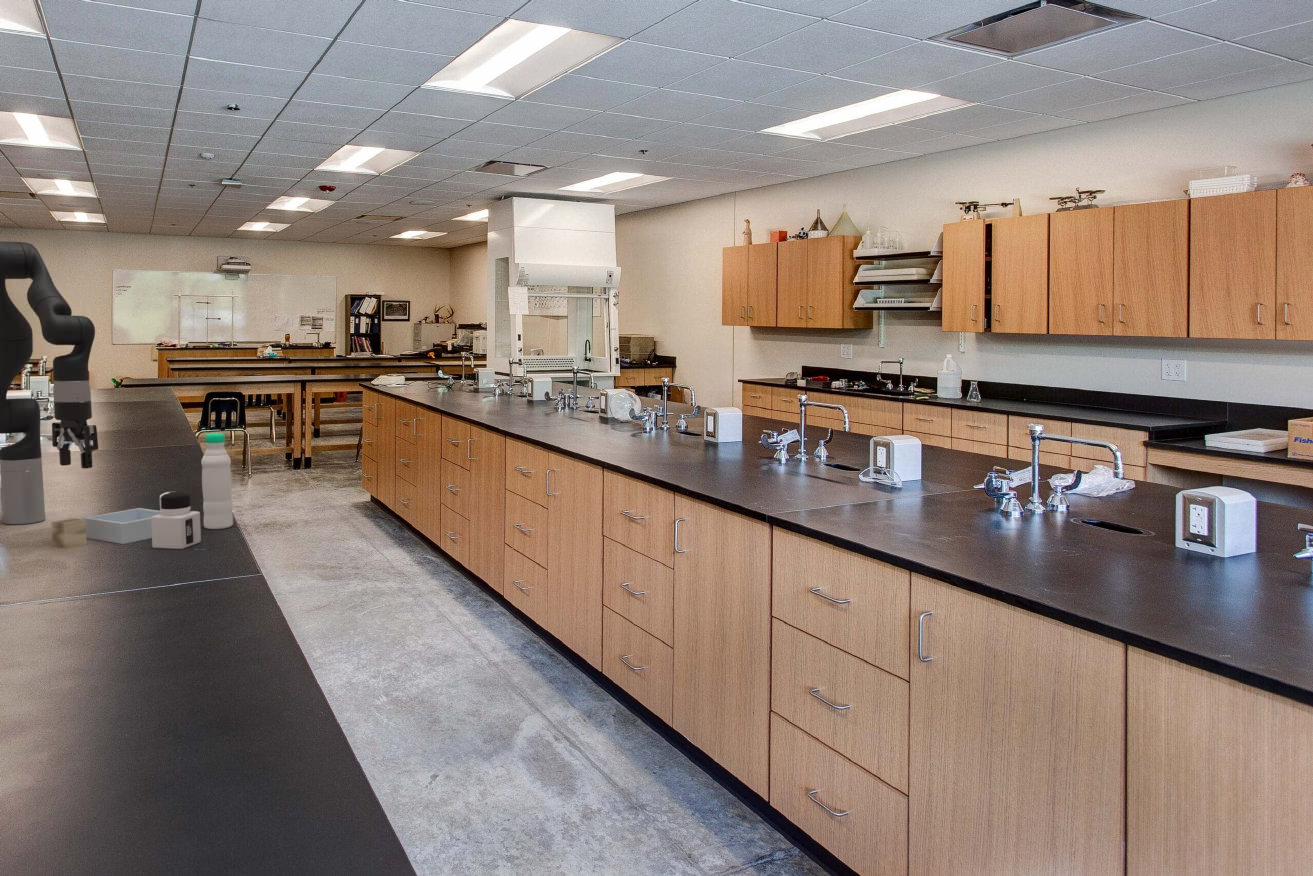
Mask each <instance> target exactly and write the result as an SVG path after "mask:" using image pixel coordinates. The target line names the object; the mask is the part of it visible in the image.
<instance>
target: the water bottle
mask: <svg viewBox="0 0 1313 876" xmlns="http://www.w3.org/2000/svg"><path fill="white" fill-rule="evenodd" d="M204 440H205V443H206V450H205V451H204V453H203V456H202V458H201V461H200V462H201V463H200V464H201V467H202V469H201V488H202V498H203V504H202V509H203V527H204V528H205V529H207V530H208V529H209V530H223V529H228V528H231V527H232V526H233V525H234V516H233V501H232V497H233V496H232V493H233V490H232V489H233V488H232V487H233V486H232V471H231V463H232V462H231V461H232V460H231V457H230V455H229V454H228V451H227V450H226V448H225V447H224V445H225V443H226V435H225V434H224V433H221V432H218V433H214V432H213V433H207V434H205V437H204Z"/></svg>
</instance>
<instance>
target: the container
mask: <svg viewBox="0 0 1313 876" xmlns="http://www.w3.org/2000/svg"><path fill="white" fill-rule="evenodd" d="M191 505H192V504H191V494H190V493H189V492H187V491H181V490H180V491H179V490H178V491H166V492H164V493H161V494H160V495H159V511H160V512H162V514H158V515H155V516H152V517H151V527H152V538H151V542H152V543H151V544H152V545H151V546H152V548H153V549H172V550H173V549H176V550H183V549H185V548H188V547H191V546H194V545H196V544H199V543H201V542H202V541H201V540H202V535H201V534H202V533H201V512H200V511H198V510H197V511H194V510H191V507H192V506H191Z"/></svg>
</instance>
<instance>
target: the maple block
mask: <svg viewBox="0 0 1313 876" xmlns="http://www.w3.org/2000/svg"><path fill="white" fill-rule="evenodd" d="M51 537H52V546H53V547H56V548H62V549H70V548H74V547H80V546H84V545H88V541H87V539H88V538H87V536H86V520H83V518H82V519H81V518H76V517H74V518H73V517H71V518H65V519H59V520H53V521H51Z"/></svg>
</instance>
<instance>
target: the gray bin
mask: <svg viewBox="0 0 1313 876" xmlns="http://www.w3.org/2000/svg"><path fill="white" fill-rule="evenodd" d="M158 514H162V512H160V510H158V509H157V510H156V509H149V508H142V507H137V508H131V509H126V510H118V511H115V512H108V513H104V514H97V515H90V516H85V517H82V520H86V536H87V539H91V540H97V541H101V542H102V541H103V542H110V543H114V544H121V545H125V544H130V543H134V542H139V541H144V540H148V539H152V527H151V517H152V516H155V515H158Z"/></svg>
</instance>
